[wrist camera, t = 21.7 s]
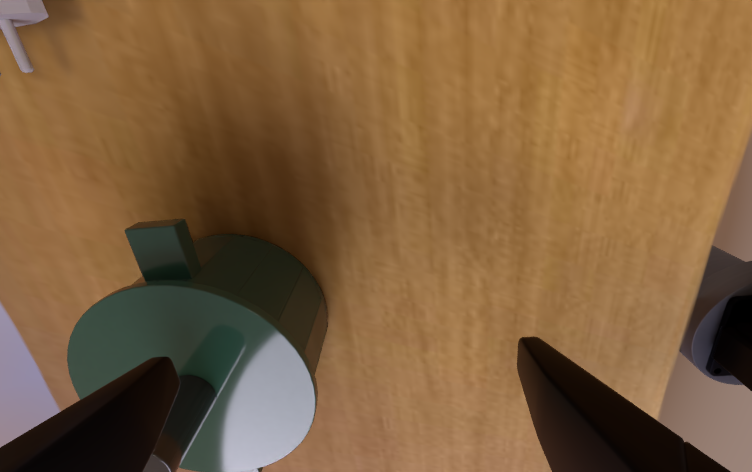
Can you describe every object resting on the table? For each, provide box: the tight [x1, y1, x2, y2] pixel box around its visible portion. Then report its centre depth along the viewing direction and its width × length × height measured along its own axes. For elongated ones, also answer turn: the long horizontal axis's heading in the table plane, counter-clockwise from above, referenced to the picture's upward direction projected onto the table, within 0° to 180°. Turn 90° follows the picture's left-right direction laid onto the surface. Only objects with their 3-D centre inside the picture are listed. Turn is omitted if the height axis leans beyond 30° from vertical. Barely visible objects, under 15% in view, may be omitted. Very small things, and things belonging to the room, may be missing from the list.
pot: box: [125, 219, 328, 472], centre depth 21 cm, size 12×17×6 cm
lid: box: [67, 280, 318, 472], centre depth 17 cm, size 13×13×5 cm
